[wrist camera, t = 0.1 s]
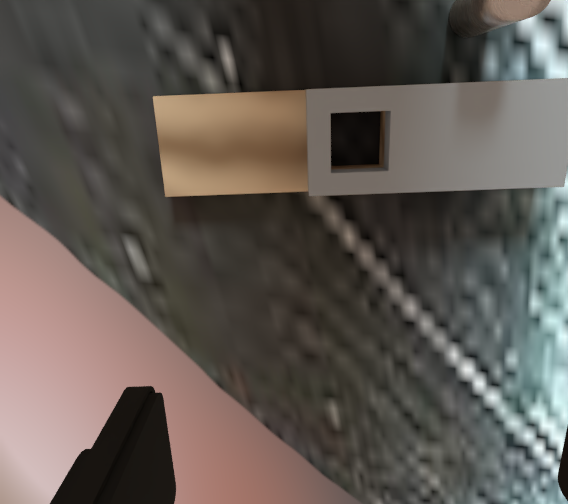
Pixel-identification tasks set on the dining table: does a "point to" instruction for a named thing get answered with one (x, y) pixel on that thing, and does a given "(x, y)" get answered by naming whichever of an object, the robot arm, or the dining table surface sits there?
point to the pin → (490, 14)
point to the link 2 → (447, 137)
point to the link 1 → (237, 143)
